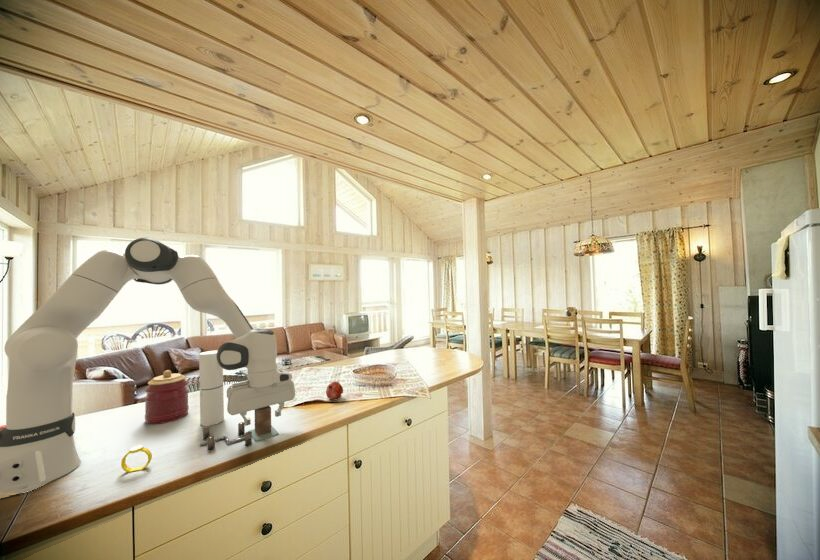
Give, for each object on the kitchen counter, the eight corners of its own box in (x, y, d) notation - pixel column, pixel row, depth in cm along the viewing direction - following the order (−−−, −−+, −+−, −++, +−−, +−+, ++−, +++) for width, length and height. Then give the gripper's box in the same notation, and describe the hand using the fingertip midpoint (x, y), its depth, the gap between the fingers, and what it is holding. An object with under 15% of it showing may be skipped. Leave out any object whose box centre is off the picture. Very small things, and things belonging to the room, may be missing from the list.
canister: (144, 428, 105) (144, 377, 105) (144, 417, 115) (144, 370, 115) (190, 417, 114) (190, 370, 114) (187, 407, 123) (186, 364, 124)
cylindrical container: (212, 426, 105) (211, 354, 106) (195, 425, 107) (194, 354, 107) (228, 417, 112) (227, 350, 113) (212, 416, 114) (211, 350, 114)
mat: (255, 442, 94) (255, 440, 94) (248, 432, 100) (248, 430, 100) (278, 434, 98) (278, 433, 98) (270, 425, 105) (270, 424, 105)
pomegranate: (332, 400, 134) (317, 392, 127) (341, 384, 137) (327, 375, 130) (342, 406, 129) (327, 397, 122) (351, 390, 132) (337, 380, 126)
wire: (203, 452, 88) (203, 450, 88) (200, 445, 92) (200, 442, 92) (251, 437, 97) (251, 435, 97) (247, 431, 101) (247, 428, 101)
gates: (210, 458, 85) (210, 445, 85) (202, 438, 97) (202, 427, 97) (252, 444, 92) (252, 432, 92) (240, 427, 104) (240, 417, 104)
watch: (120, 476, 78) (118, 454, 78) (125, 471, 81) (123, 448, 81) (149, 469, 80) (147, 447, 80) (153, 463, 83) (151, 442, 83)
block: (258, 436, 97) (257, 411, 97) (254, 431, 100) (254, 407, 100) (271, 432, 99) (270, 407, 99) (267, 427, 102) (267, 404, 102)
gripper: (228, 387, 91) (229, 434, 90) (296, 373, 104) (297, 414, 104) (224, 382, 95) (224, 427, 95) (290, 370, 109) (290, 408, 108)
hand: (263, 420), depth 99 cm, fingers open, 8 cm apart
